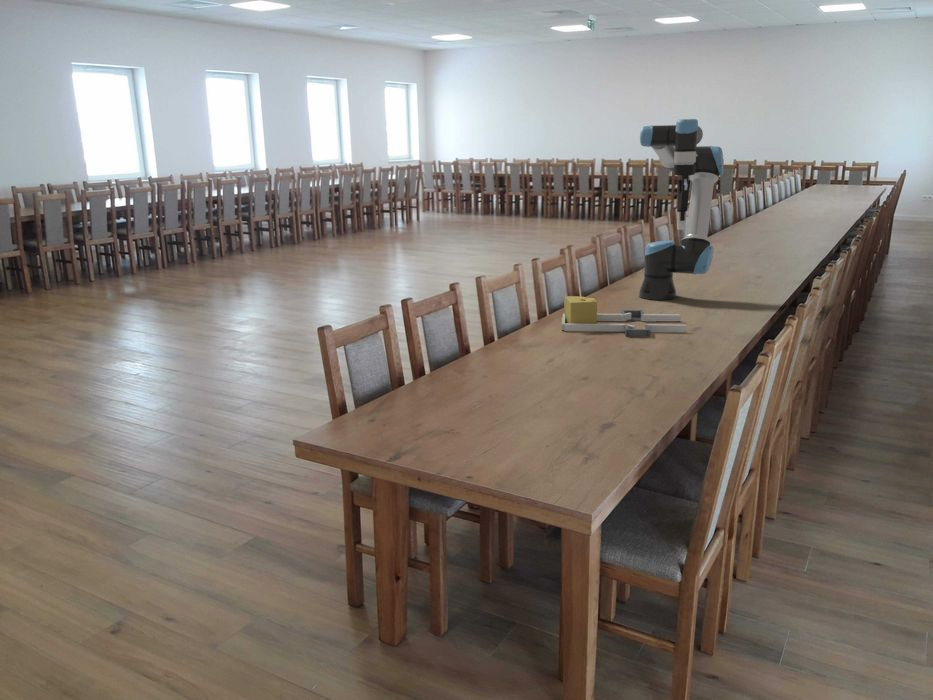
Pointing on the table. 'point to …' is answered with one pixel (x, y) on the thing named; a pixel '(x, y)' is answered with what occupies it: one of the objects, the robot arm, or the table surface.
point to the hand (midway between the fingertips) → (681, 229)
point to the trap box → (629, 329)
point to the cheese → (580, 310)
